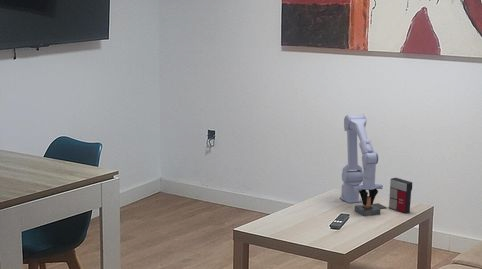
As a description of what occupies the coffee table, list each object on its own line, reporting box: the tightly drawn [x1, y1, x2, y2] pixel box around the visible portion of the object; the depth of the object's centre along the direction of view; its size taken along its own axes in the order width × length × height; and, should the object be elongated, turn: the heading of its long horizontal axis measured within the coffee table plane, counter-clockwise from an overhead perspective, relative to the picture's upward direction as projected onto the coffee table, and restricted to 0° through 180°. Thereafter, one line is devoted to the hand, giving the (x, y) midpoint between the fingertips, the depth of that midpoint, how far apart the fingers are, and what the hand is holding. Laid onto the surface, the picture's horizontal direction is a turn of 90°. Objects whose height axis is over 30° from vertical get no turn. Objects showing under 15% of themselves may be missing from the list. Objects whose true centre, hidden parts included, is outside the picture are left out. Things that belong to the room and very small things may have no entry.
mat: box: [373, 202, 388, 210], centre depth 381 cm, size 8×8×1 cm
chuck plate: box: [354, 204, 382, 217], centre depth 372 cm, size 9×9×2 cm
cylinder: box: [364, 195, 371, 209], centre depth 371 cm, size 3×3×7 cm
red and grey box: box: [388, 177, 413, 214], centre depth 375 cm, size 11×4×15 cm, turn 37°
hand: (367, 204), depth 371 cm, fingers closed on cylinder, 3 cm apart
